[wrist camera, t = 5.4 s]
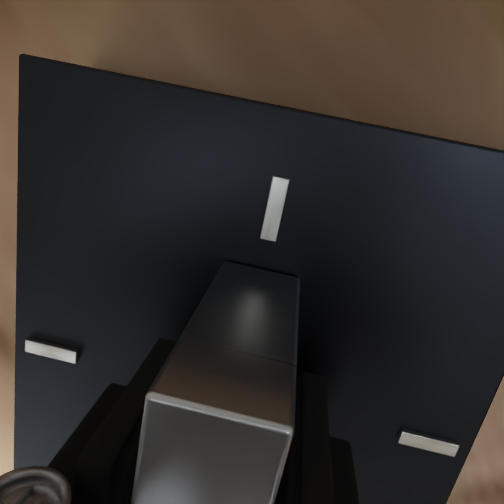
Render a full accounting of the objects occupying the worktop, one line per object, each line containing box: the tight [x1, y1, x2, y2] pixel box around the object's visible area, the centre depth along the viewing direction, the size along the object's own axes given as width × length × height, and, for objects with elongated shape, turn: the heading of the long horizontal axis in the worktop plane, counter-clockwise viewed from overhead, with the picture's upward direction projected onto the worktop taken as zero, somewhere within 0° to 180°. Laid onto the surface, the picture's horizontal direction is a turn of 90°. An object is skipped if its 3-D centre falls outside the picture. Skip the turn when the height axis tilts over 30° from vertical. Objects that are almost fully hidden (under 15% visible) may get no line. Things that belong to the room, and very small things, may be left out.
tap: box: [131, 262, 300, 504], centre depth 8 cm, size 7×2×5 cm, turn 169°
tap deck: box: [14, 54, 504, 504], centre depth 12 cm, size 14×12×3 cm
